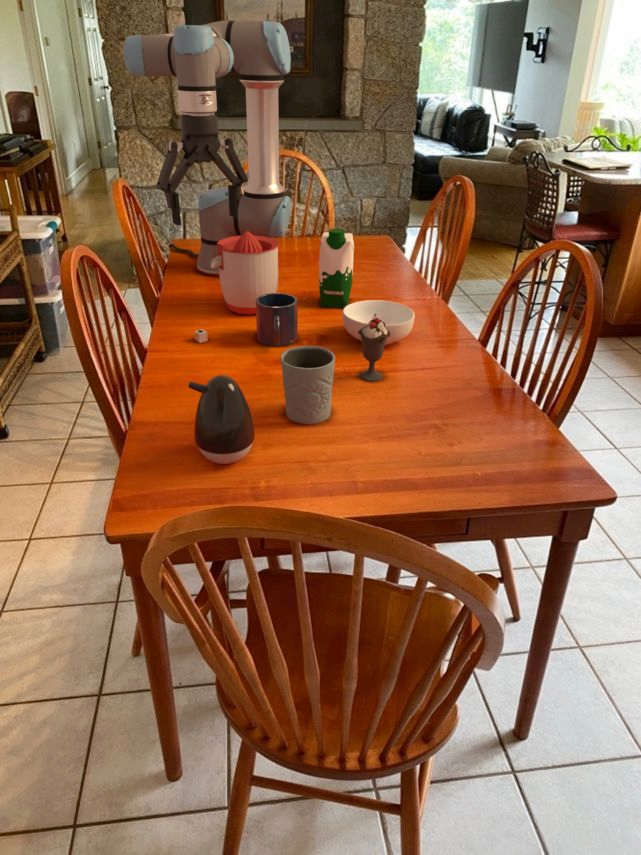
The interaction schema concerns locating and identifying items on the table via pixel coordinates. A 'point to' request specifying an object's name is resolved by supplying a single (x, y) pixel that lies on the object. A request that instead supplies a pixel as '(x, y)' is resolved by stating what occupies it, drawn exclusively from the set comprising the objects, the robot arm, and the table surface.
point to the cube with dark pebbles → (201, 336)
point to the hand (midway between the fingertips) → (206, 220)
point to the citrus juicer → (246, 270)
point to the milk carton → (336, 268)
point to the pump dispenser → (223, 421)
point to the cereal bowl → (389, 312)
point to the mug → (276, 319)
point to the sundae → (373, 346)
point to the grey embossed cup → (308, 383)
